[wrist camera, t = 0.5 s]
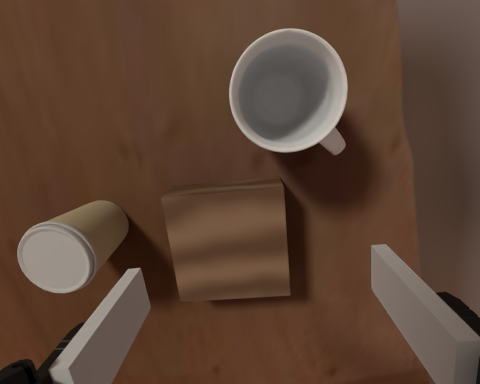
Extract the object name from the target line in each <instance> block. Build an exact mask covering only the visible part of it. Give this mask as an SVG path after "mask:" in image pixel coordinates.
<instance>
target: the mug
mask: <svg viewBox="0 0 480 384" xmlns="http://www.w3.org/2000/svg"><path fill="white" fill-rule="evenodd" d="M347 91H348V84H347V76H346V72H345V68H344V66H343V63H342V61H341V59H340V57H339V55H338V54H337V52H336V51H335V50H334V49H333V47H332V46H331V45H330V44H329V43H328V42H326V41H325V40H324V39H322V38H321V37H319V36H317V35H315V34H313V33H311V32H308V31H305V30H301V29H281V30H276V31H273V32H270V33H268V34H266V35H264V36H262V37H260V38H259V39H257V40H256V41H255V42H253V43H252V44H251V45H250V46H249V47H248V48H247V49H246V50H245V51H244V53H243V54H242V55H241V57H240V58H239V60H238V62H237V64H236V66H235V68H234V71H233V74H232V77H231V81H230V89H229V99H230V106H231V110H232V114H233V117H234V119H235V121H236V123H237V125H238V127H239V128H240V130H241V131H242V132H243V133H244V135H245V136H246V137H247V138H249V139H250V140H251V141H252V142H253V143H255V144H256V145H258V146H260V147H262V148H264V149H267V150H270V151H275V152H284V153H286V152H296V151H300V150H304V149H307V148H309V147H311V146H314V145H315V144H317V143H320V144H321V145H322V146H323V147H324V148H326V149H327V150H328V151H329V152H330V153H332V154H333V155H337V154H339V153H340V152H341V151H342V150H343V149H344V148H345V146H346V143H345V141H344V139H343V138H342V136H341V135H340V133H339V132H338V130H337V129H336V128H335V126H336V125H337V123H338V122H339V120H340V118H341V116H342V113H343V111H344V108H345V105H346V100H347Z"/></svg>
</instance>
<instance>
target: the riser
mask: <svg viewBox="0 0 480 384" xmlns="http://www.w3.org/2000/svg"><path fill="white" fill-rule="evenodd" d="M161 200H162V205H163V211H164V216H165V221H166V227H167V232H168V238H169V243H170V248H171V254H172V259H173V264H174V270H175V275H176V281H177V286H178V291H179V297H180V302H190V301H206V300H223V299H240V298H257V297H273V296H290V279H289V263H288V246H287V230H286V213H285V197H284V186H283V184H282V182H281V179H280V177H273V178H261V179H250V180H239V181H228V182H217V183H205V184H194V185H183V186H173V187H172V188H171V189H170V190H169V191H168V192H167V193H166V194H165V195H164V196H163V197H162V198H161Z"/></svg>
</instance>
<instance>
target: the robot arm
mask: <svg viewBox="0 0 480 384" xmlns="http://www.w3.org/2000/svg"><path fill="white" fill-rule="evenodd" d="M371 288H372V290H373V292H374V293H375V295H376V296H377V298H378V299H379V301H380V302H381V304H382V305H383V307H384V308H385V310H386V311H387V313H388V314H389V316H390V317H391V318H392V320H393V321H394V323H395V324H396V326H397V327H398V329H399V330H400V332H401V333H402V335H403V336H404V338H405V339H406V341H407V342H408V344H409V345H410V347H411V348H412V350H413V351H414V352H415V354H416V355H417V357H418V358H419V360H420V361H421V363H422V364H423V366H424V367H425V369H426V370H427V372H428V373H429V375H430V376H431V378H432V379H433V381H434V382H435V384H480V318H479V317H478V316H477V314H475V313H474V312H473V311H472V310H470V308H469V307H468V306H467V305H465V304H464V303H463V302H462V301H461V300H460V299H458V298H456V297H454V296H452V295H451V294H449V293H447V292H440V293H435V292H434V291H433V290H432V289H431V288H430V287H429V286H428V285H426V283H425V282H424V281H423V280H422V279H421V278H420V277H419V276H418V275H416V274H415V273H414V272H413V271H412V270H411V269H410V268H409V267H408V266H407V265H406V264H405V263H404V262H403V261H402V260H401V259H400V258H399V257H398V256H397V255H396V254H395V253H394V252H393V251H392V250H391V249H390V248H389V247H388V246H387V245H386V244H382V245H372V246H371ZM150 308H151V306H150V302H149V298H148V294H147V290H146V286H145V282H144V278H143V275H142V271H141V268H134V269H128V270H127V271H126V272H125V274H124V275H123V276H122V277H121V279H120V280H119V281H118V282H117V284H116V285H115V286H114V287H113V289H112V290H111V291H110V293H109V294H108V295H107V296H106V298H105V299H104V300H103V301H102V303H101V304H100V305H99V306H98V308H97V309H96V310H95V311H94V313H93V314H92V315H91V316H90V318H89V319H88V320H87V321H86V322H83V323H80V324H78V325H77V326H76V327H75V328H73V329H72V330H71V331H70V332H69V333H68V334H67V335H66V336H65V338H64V339H63V340H62V342H60V344H59V345H58V346H57V347H56V350H54V351H53V352H52V353H51V354H50V356H49V357H48V358H47V359H46V360H45V362H44V363H43V364H42V365H41V366H40V368H39V369H38V370H37V371H36V369H35V366H34V364H33V362H32V360H29V359H24V360H19V361H17V362H14V363H12V364H10V365H8V366H7V367H5V368H3V369H2V370H1V371H0V384H111V383H112V381H113V379H114V377H115V376H116V374H117V372H118V370H119V368H120V366H121V364H122V362H123V360H124V358H125V356H126V354H127V353H128V351H129V349H130V347H131V345H132V343H133V341H134V339H135V337H136V335H137V333H138V331H139V330H140V328H141V326H142V324H143V322H144V320H145V318H146V316H147V314H148V312H149V310H150Z"/></svg>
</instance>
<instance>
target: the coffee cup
mask: <svg viewBox="0 0 480 384" xmlns="http://www.w3.org/2000/svg"><path fill="white" fill-rule="evenodd" d="M128 229H129V223H128V219H127V216H126V214H125V213H124V212H123V210H122V209H121V208H120V207H119V206H117V205H116V204H114V203H112V202H109V201H102V200H101V201H95V202H92V203H89V204H86V205H84V206H82V207H79V208H77V209H74V210H72V211H70V212H67V213H65V214H63V215H60V216H58V217H56V218H53V219H51V220H49V221H47V222H43V223H40V224H37V225H35V226H33V227H32V228H30V229H29V230H28V231H27V232H26V233H25V234H24V236H23V238H22V239H21V241H20V243H19V246H18V252H17V256H18V261H19V265H20V267H21V269H22V271H23V272H24V274H25V275H26V276H27V278H28V279H29V280H30V281H31V282H33V283H34V284H35V285H37V286H38V287H40V288H42V289H44V290H47V291H50V292H54V293H68V292H72V291H76V290H79V289H81V288H83V287H84V286H86V285H87V284H88V283H89V282H90V281H91V280H92V279H93V277H94V276H95V274H96V272H97V271H98V270H99V269H100V268H101V267H102V265H103V264H104V263H105V262H106V261H107V259H108V258H109V257H110V256H111V255H112V253H113V252H114V251H115V250H116V248H117V247H118V246H119V245H120V243H121V242H122V241H123V240H124V238H125V237H126V235H127V233H128Z"/></svg>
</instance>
